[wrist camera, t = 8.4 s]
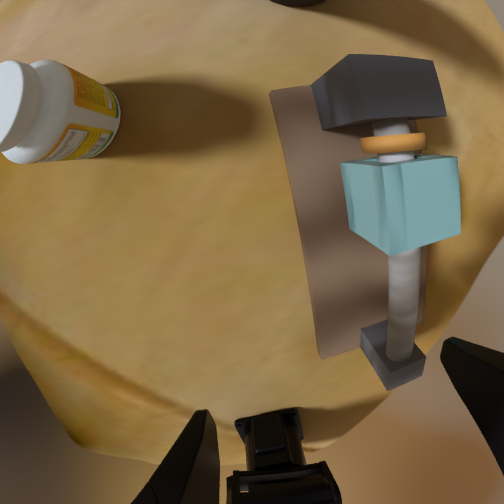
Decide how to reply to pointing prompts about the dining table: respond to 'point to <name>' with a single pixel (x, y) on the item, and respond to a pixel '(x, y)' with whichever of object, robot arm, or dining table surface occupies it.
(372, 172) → the sleeve
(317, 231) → the rod stand
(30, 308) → the dining table surface
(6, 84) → the supplement bottle
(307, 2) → the water bottle
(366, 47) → the dining table surface
